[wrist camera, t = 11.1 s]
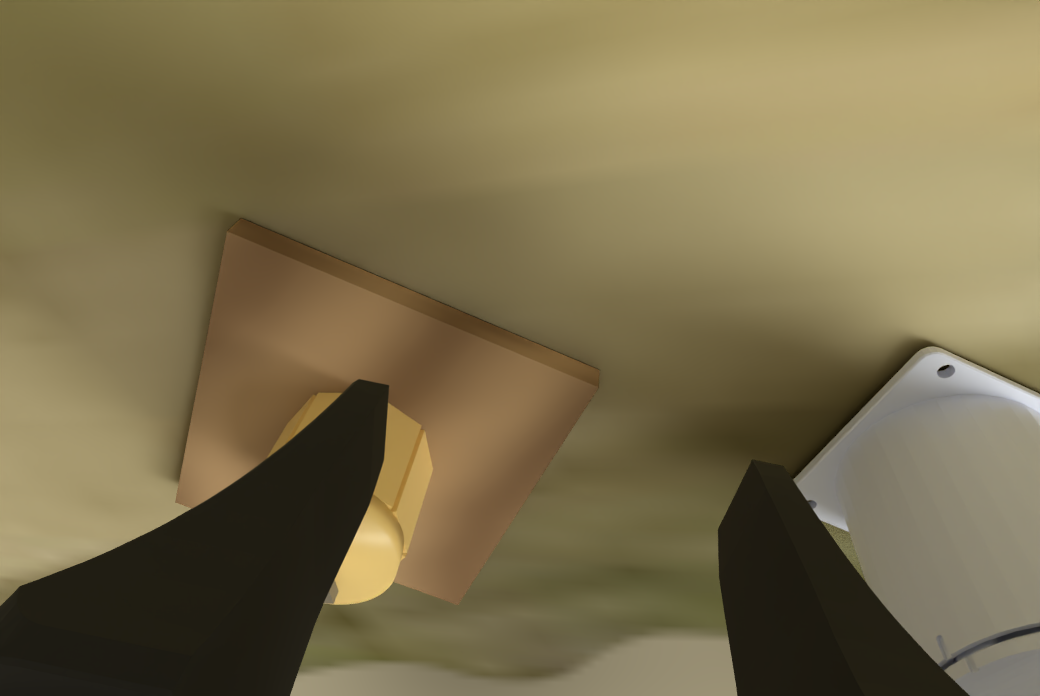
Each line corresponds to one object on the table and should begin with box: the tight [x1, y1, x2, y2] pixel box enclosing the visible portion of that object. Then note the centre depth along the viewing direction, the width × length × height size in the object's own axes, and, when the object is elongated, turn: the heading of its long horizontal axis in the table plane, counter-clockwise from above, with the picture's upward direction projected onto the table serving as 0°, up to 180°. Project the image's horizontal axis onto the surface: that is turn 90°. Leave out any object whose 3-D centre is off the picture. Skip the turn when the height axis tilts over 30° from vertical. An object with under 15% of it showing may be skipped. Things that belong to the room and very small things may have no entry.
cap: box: [266, 393, 433, 604], centre depth 25 cm, size 6×6×5 cm
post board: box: [175, 218, 599, 605], centre depth 26 cm, size 13×14×4 cm
